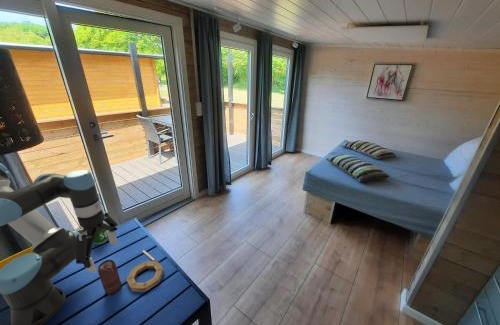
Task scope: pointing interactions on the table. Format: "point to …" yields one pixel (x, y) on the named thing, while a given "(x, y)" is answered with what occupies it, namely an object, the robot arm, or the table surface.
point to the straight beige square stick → (148, 255)
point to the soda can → (101, 236)
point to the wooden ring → (149, 284)
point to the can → (109, 277)
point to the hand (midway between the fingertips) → (104, 256)
